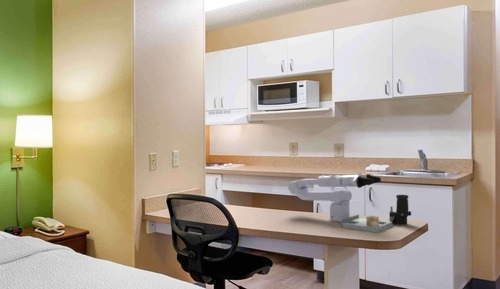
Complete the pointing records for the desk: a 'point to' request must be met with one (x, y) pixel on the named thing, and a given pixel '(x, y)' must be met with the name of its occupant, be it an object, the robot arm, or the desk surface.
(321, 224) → the desk surface
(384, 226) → the board
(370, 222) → the block
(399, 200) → the scope
